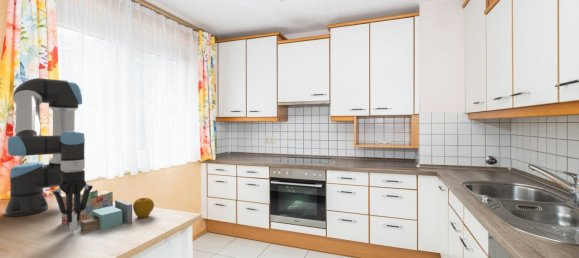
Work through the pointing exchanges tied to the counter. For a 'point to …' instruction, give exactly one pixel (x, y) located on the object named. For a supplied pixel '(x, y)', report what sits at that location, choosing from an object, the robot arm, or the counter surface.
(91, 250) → the counter surface
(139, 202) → the apple
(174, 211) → the counter surface
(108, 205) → the stack of blocks
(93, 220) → the brown wooden bar
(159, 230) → the counter surface
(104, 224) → the block
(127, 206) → the wall
